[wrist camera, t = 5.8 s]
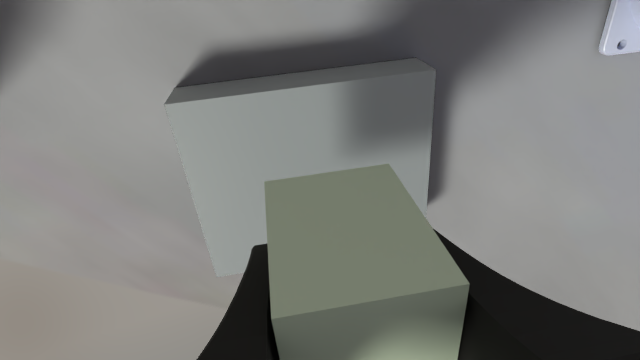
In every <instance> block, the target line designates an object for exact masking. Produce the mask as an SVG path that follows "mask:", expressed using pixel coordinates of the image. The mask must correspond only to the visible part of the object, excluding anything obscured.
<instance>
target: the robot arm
mask: <svg viewBox="0 0 640 360" xmlns="http://www.w3.org/2000/svg"><path fill="white" fill-rule="evenodd" d="M619 42H620V44H619V46H618V47H617V45H618V43H619ZM599 51H600V53H601V54H604V55H617V54H624V53H632V52H640V0H612V1H611V5H610V8H609V12H608V15H607V19H606V23H605V26H604V30H603V34H602V37H601V41H600V45H599ZM433 230H434V229H433ZM434 231H435V233H436V234H437V236H438V237H439V239H440V240H441V242H442V243H443V245H444V246H445V248H446V249H447V251H448V252H449V254H450V255H451V257H452V258H453V260H454V261H455V263H456V264H457V266H458V267H459V269H460V270H461V272H462V273H463V275H464V276H465V277H466V279H467V280H468V282H469V283H470V285H469V292H468V298H467V304H466V310H465V316H464V322H463V328H462V335H461V341H460V347H459V353H458V359H457V360H640V331H637V330H634V329H631V328H627V327H624V326H621V325H618V324H615V323H612V322H608V321H605V320H602V319H599V318H596V317H593V316H591V315H588V314H585V313H583V312H580V311H577V310H575V309H572V308H570V307H567V306H565V305H562V304H560V303H557V302H555V301H553V300H551V299H548V298H546V297H544V296H542V295H539V294H537V293H535V292H533V291H531V290H529V289H527V288H525V287H523V286H521V285H519V284H517V283H515V282H513V281H511V280H510V279H508V278H506V277H504V276H502V275H500V274H499V273H497V272H495V271H494V270H492V269H490V268H489V267H487V266H486V265H484V264H482V263H481V262H479V261H478V260H476V259H475V258H473V257H472V256H470V255H469V254H467V253H466V252H464V251H463V250H461V249H460V248H459V247H457V246H456V245H454V244H453V243H452V242H450V241H449V240H448V239H446V238H445V237H444V236H442V235H441V234H440V233H438V232H437V231H436V230H434ZM197 360H280V358H279V353H278V349H277V344H276V339H275V334H274V330H273V325H272V320H271V305H270V285H269V266H268V246H267V244H261V245H255V246H254V247H253V248H252V250H251V254H250V258H249V261H248V264H247V267H246V270H245V272H244V275H243V277H242V280H241V282H240V284H239V287H238V289H237V292H236V294H235V296H234V298H233V300H232V302H231V304H230V306H229V308H228V310H227V312H226V314H225V316H224V318H223V319H222V321H221V323H220V325H219V327H218V328H217V330H216V331H215V333H214V335H213V336H212V338H211V339H210V341H209V342H208V344H207V345H206V347H205V348H204V350H203V351H202V353H201V354H200V356H199V357H198V359H197Z"/></svg>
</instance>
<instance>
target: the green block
mask: <svg viewBox="0 0 640 360" xmlns="http://www.w3.org/2000/svg"><path fill="white" fill-rule="evenodd" d="M264 187H265V207H266V226H267V246H268V266H269V285H270V305H271V320H272V325H273V330H274V334H275V339H276V344H277V349H278V353H279V358H280V360H457V359H458V353H459V347H460V341H461V335H462V328H463V322H464V316H465V310H466V304H467V298H468V292H469V285H470V283H469V282H468V280H467V279H466V277H465V276H464V275H463V273H462V272H461V270H460V269H459V267H458V266H457V264H456V263H455V261H454V260H453V258H452V257H451V255H450V254H449V252H448V251H447V249H446V248H445V246H444V245H443V243H442V242H441V240H440V239H439V237H438V236H437V234H436V233H435V231H434V230H433V228H432V227H431V225H430V224H429V222H428V221H427V220H426V218H425V217H424V215H423V214H422V212H421V211H420V209H419V208H418V206H417V205H416V203H415V202H414V200H413V199H412V197H411V196H410V194H409V193H408V191H407V190H406V188H405V187H404V185H403V184H402V182H401V181H400V179H399V178H398V176H397V175H396V173H395V172H394V170H393V169H392V167H391V166H390V165H389V164H382V165H375V166H368V167H361V168H354V169H347V170H341V171H334V172H327V173H320V174H313V175H306V176H299V177H292V178H285V179H278V180H272V181H265V182H264Z"/></svg>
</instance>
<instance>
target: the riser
mask: <svg viewBox="0 0 640 360" xmlns="http://www.w3.org/2000/svg"><path fill="white" fill-rule="evenodd" d="M435 81H436V69H434V68H432V67H431V66H429V65H427V64H426V63H424V62H422V61H421V60H419V59H417V58H410V59H402V60H394V61H386V62H378V63H370V64H362V65H354V66H346V67H338V68H330V69H322V70H313V71H305V72H297V73H289V74H281V75H273V76H265V77H257V78H249V79H241V80H233V81H225V82H217V83H209V84H201V85H193V86H185V87H177V88H174V90H173V91H172V93H171V94H170V96H169V98H168V99H167V101H166V102H165V104H164V106H165V109H166V112H167V116H168V119H169V122H170V126H171V129H172V132H173V136H174V139H175V142H176V145H177V149H178V152H179V155H180V159H181V162H182V165H183V169H184V172H185V175H186V178H187V182H188V185H189V188H190V192H191V195H192V198H193V202H194V205H195V208H196V211H197V215H198V218H199V221H200V225H201V228H202V231H203V235H204V238H205V241H206V244H207V248H208V251H209V254H210V258H211V261H212V264H213V268H214V271H215V274H216V277H221V276H227V275H233V274H239V273H244V272H245V270H246V267H247V264H248V261H249V258H250V254H251V250H252V248H253V247H254V246H255V245H261V244H267V226H266V207H265V187H264V182H265V181H272V180H278V179H285V178H292V177H299V176H306V175H313V174H320V173H327V172H334V171H341V170H347V169H354V168H361V167H368V166H375V165H382V164H389V165H390V166H391V167H392V169H393V170H394V172H395V173H396V175H397V176H398V178H399V179H400V181H401V182H402V184H403V185H404V187H405V188H406V190H407V191H408V193H409V194H410V196H411V197H412V199H413V200H414V202H415V203H416V205H417V206H418V208H419V209H420V211H421V212H422V214H423V215H424V217H425V218H426V211H427V197H428V182H429V168H430V153H431V139H432V124H433V110H434V95H435Z"/></svg>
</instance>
